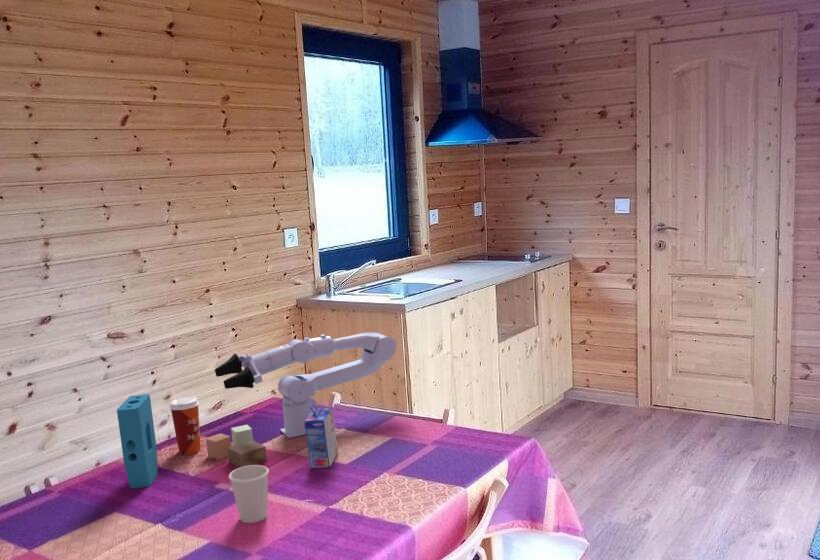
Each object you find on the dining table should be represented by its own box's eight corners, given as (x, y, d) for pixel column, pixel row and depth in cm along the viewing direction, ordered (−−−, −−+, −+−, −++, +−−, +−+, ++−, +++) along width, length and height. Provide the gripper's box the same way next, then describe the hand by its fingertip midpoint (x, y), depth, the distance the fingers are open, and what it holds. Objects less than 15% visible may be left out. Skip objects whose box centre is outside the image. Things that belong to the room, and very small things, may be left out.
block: (148, 489, 183) (137, 408, 180) (126, 491, 183) (115, 410, 180) (160, 469, 195) (150, 393, 192) (140, 471, 195) (130, 395, 192)
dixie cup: (256, 505, 170) (251, 462, 168) (281, 513, 164) (276, 469, 163) (225, 520, 163) (220, 475, 162) (250, 529, 158) (245, 483, 157)
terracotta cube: (222, 451, 206) (220, 433, 205) (232, 454, 203) (230, 436, 202) (208, 456, 202) (205, 438, 202) (217, 460, 199) (215, 441, 199)
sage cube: (249, 441, 211) (247, 424, 210) (253, 446, 207) (251, 428, 206) (233, 445, 209) (230, 428, 208) (237, 450, 205) (235, 432, 204)
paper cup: (199, 455, 204) (193, 404, 202) (171, 456, 204) (164, 406, 202) (208, 444, 211) (202, 395, 209) (180, 446, 212) (174, 397, 210)
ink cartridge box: (317, 453, 198) (311, 399, 196) (338, 452, 198) (333, 398, 196) (308, 468, 189) (302, 411, 187) (330, 467, 188) (325, 410, 186)
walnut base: (254, 454, 202) (252, 440, 201) (266, 461, 196) (265, 446, 196) (229, 462, 197) (227, 447, 197) (241, 469, 192) (240, 454, 191)
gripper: (256, 339, 214) (208, 355, 209) (274, 359, 203) (225, 377, 197) (260, 360, 217) (214, 377, 211) (279, 382, 206) (230, 400, 200)
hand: (219, 378), depth 204 cm, fingers open, 7 cm apart
